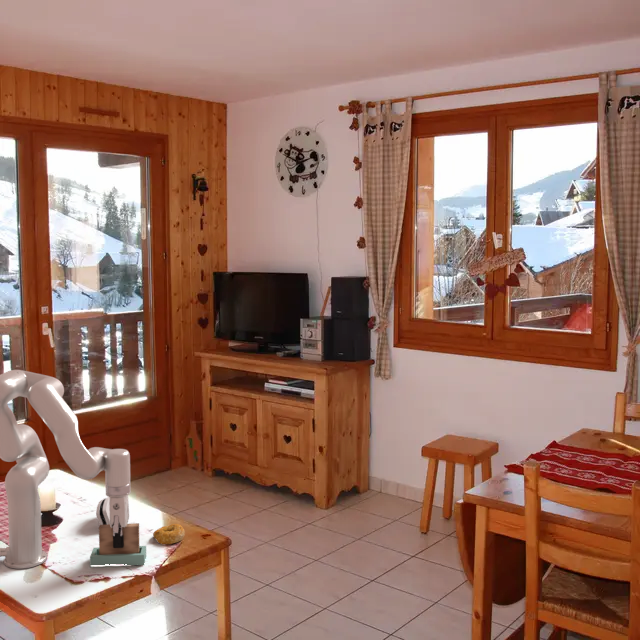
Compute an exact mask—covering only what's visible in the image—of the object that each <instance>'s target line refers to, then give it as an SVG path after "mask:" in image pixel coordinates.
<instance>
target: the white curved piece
mask: <svg viewBox="0 0 640 640" xmlns="http://www.w3.org/2000/svg"><path fill="white" fill-rule="evenodd" d="M95 511H96V512H95V514H96V515H95V516H96V518H97V522H98V525H99V526H100V525H107V524H110V511H109V497H108V496H106V497H105V498H103V499H101V500H100V501H99V502H98V504H97V506H96V510H95Z"/></svg>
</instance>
